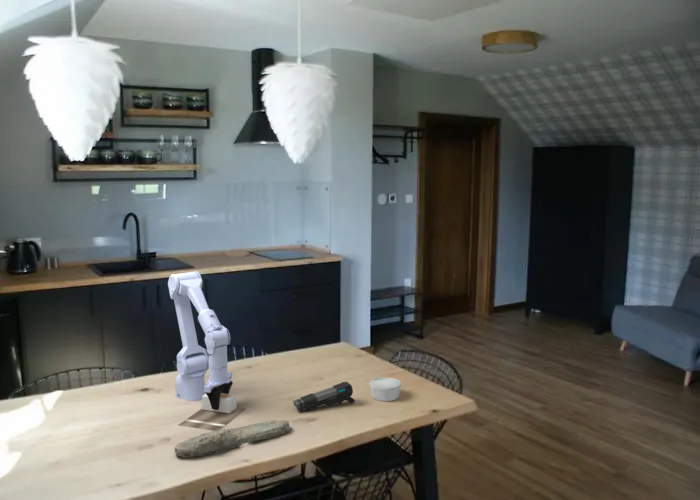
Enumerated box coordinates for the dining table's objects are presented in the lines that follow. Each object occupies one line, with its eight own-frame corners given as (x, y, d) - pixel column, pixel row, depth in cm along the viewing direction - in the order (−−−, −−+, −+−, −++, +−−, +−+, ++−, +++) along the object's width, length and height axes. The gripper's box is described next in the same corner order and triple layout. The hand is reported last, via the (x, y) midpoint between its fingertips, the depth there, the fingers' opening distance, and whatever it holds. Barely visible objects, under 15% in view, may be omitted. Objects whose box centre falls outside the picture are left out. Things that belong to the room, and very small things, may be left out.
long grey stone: (296, 439, 180) (281, 429, 188) (296, 422, 179) (281, 412, 188) (180, 463, 161) (170, 451, 169) (180, 444, 160) (170, 433, 169)
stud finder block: (202, 409, 195) (201, 395, 194) (209, 404, 199) (209, 391, 198) (229, 413, 192) (229, 399, 191) (236, 408, 196) (236, 394, 195)
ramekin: (391, 389, 217) (391, 375, 217) (407, 399, 207) (407, 385, 207) (363, 394, 212) (363, 379, 212) (378, 405, 203) (378, 390, 202)
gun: (358, 403, 203) (349, 377, 201) (306, 431, 197) (296, 405, 194) (352, 398, 207) (344, 373, 205) (301, 425, 201) (291, 400, 198)
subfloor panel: (178, 428, 183) (177, 424, 183) (208, 406, 201) (208, 403, 200) (218, 434, 179) (218, 431, 179) (246, 411, 196) (246, 408, 196)
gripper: (217, 374, 185) (218, 416, 187) (240, 360, 199) (240, 399, 201) (197, 372, 187) (199, 413, 189) (221, 358, 201) (222, 397, 203)
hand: (219, 406), depth 195 cm, fingers closed on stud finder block, 4 cm apart
